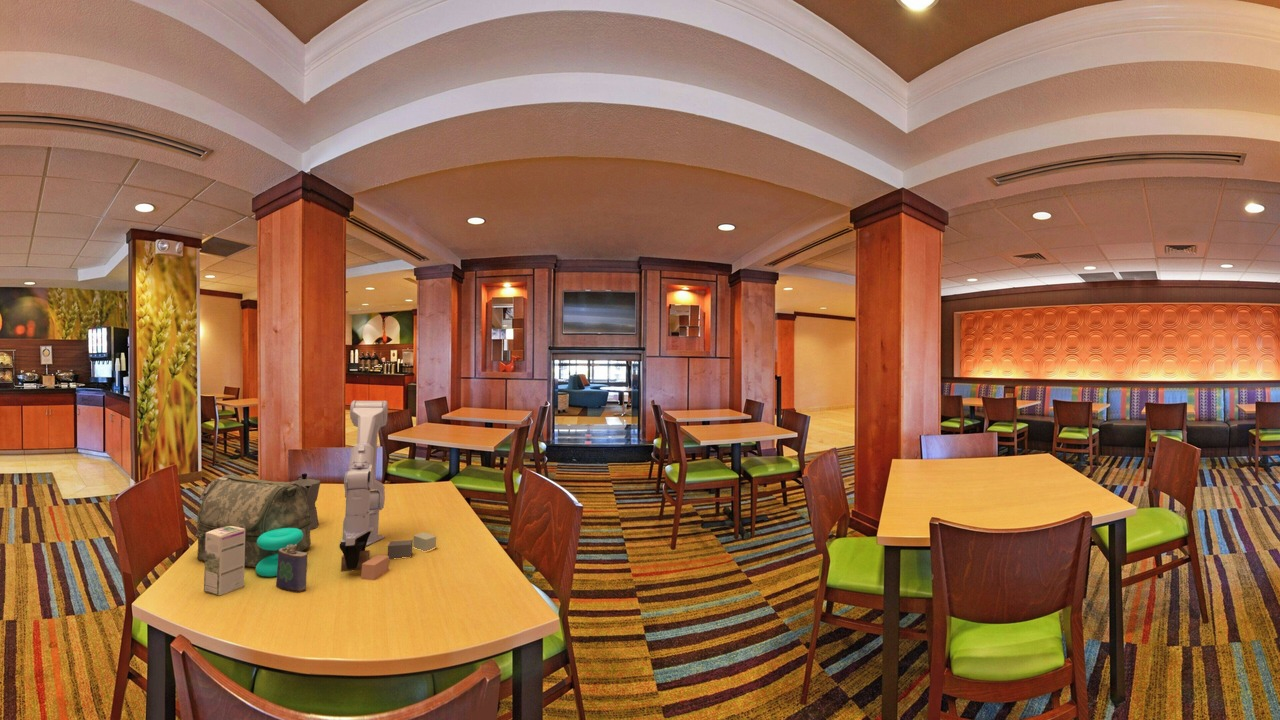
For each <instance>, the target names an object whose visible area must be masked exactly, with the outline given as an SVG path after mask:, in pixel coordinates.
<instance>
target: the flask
mask: <svg viewBox="0 0 1280 720" xmlns="http://www.w3.org/2000/svg"><path fill="white" fill-rule="evenodd" d="M296 546H297V545H296V544H295V545H290V546H289V545H287V547H286V548H281V549H279V550H278V567H277V576H276V582H275V587H276V588H278V589H279V590H283V591H287V592H291V593H302V592H304V591H306V589H307V571H308V570H307V569H308V568H307V567H308V552H304V551H300V552H299V551H295V549H296V548H295V547H296ZM288 547H289V548H288Z"/></svg>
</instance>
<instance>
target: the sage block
mask: <svg viewBox="0 0 1280 720" xmlns="http://www.w3.org/2000/svg"><path fill="white" fill-rule="evenodd" d="M413 547H415V548H417V549H421V550H423V551H427V550H430V549H432V548H434V547H436V548H437V536H436V535H433V534H430V533H428V532H424V531H423V532H421V533H417V534H414V535H413V541H412V548H413ZM417 549H416V550H417Z"/></svg>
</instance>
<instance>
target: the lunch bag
mask: <svg viewBox="0 0 1280 720" xmlns="http://www.w3.org/2000/svg"><path fill="white" fill-rule="evenodd" d="M199 501H202V502H201V504H200V506H199V508H198V512H197V516H196V517H197V518H196V519H197V522H196V527H195V528H196V534H195V535H194V536H195V537H197V559H198V560H199V561H204V562H205V538H206V532H209V531H211V530H214V529H218V528H221V527H225V526H235V527H240V528H244V529H245V565H244V567H253V568H254V567H255V568H256V566H257V564H258V563H259V562H260V561H261V560H262V559H264V558H266V557H268V556H271V555H274V554H278V550H264V549H262V548H260V547H259V546H258V545H257V539H258V537H259V536H260V535H262V534H263V533H266V532H268V531H271V530H275V529H281V528H297V529H300V530H301V531H302V532H303V538H302V540H301V541H300V542H299V543H297V544H296V545H297V546H296V547H295V548H296V549H295V551H299V552H303V551H304V550H306V549H309V548H310V547H311V545H312V540H311V530H310V527H311V523H312V520H311V517H310V512H309V507H308V502H307V499H306V496H305V493H304V491H303V489H302V488H301V486H300V485H299V484H297V483H295V482H292V481H269V480H264V479H258V478H243V477H242V476H239V475H237V474H232V473H231V474H226V475H223V476H219V477H216V478H215V479H214V480H212V481H211V482H210V483H209V484H208V485H206V486H205V488H204V489H203V491H202V493H201V495H200V498H199Z"/></svg>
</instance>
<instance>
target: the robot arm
mask: <svg viewBox="0 0 1280 720" xmlns="http://www.w3.org/2000/svg"><path fill="white" fill-rule="evenodd" d="M388 407H389V402H388V401H387V400H356V399H354V400H352V401H351V402H350V410H349V417H350V420H351V423H352V425H353V426H354V427H356V428H357V436H356V437H357V438H356V445H354V446H353V447H352V448H351V451H350V457H349V463H348V469H347V470H346V471H345V473H344V477H343V479H344V480H343V486H344V487H343V488H344V498H346V499H345V512H344V513H345V514H344V515H345V516H344V517H343V521H342V540H340V541H339V542H340V543H339V547H338V548H339V550H340V551H341V552H342V555H343V554H344V557H345V561H346V566H347V569H355V568H356V567H357V565H358V560H359V555H360V551H366V547H367V546H369V545H371V544H375V543H376V542H378V541H381V540H382V539H384V538H385V535H382V534H381V535H380V534H379V518H380V511H382V510H383V509H384V508H385V500H386V499H385V497H386V496H385V495H386V494H385V493H386V492H385V485H384V484H383V482H381V481H379V480H377V479H376V475H377V474H376V471H377V453H378V452H377V451H378V437H379V436H378V435H379V431H380V429H381V428H382V427H385V426H387V422H388V411H389V408H388Z"/></svg>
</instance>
